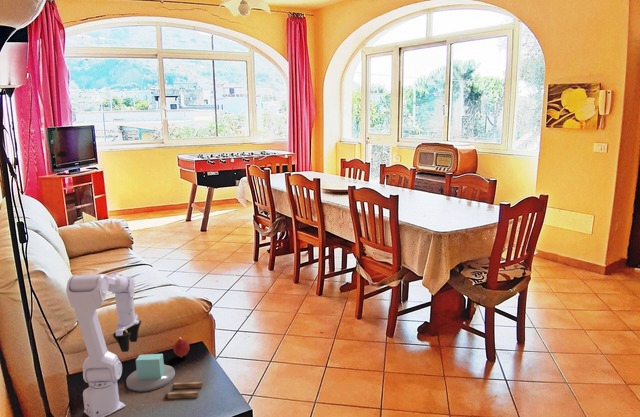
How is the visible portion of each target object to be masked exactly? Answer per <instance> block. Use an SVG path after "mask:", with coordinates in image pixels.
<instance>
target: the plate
mask: <svg viewBox="0 0 640 417" xmlns="http://www.w3.org/2000/svg"><path fill="white" fill-rule="evenodd" d="M175 370H176V369H175V368H174V367H173V366H171V365H167V364H164V371H165V372H164V374H163V376H162V377H161V378H154V379H138V378H137V369H136V370H134V371H133V372H131V373H130V374H129V375H128V376H127V378H126V379H125V380H126V381H125V382H126V383H125V384H126V388H127V389H129V390H131V391H133V392H141V393H142V392H151V391H154V390H155V391H156V390H158V389H161V388H163V387H166V386H167V385H169V384H170V383H171V382H173V381H174V379H175V377H176V371H175Z"/></svg>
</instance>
